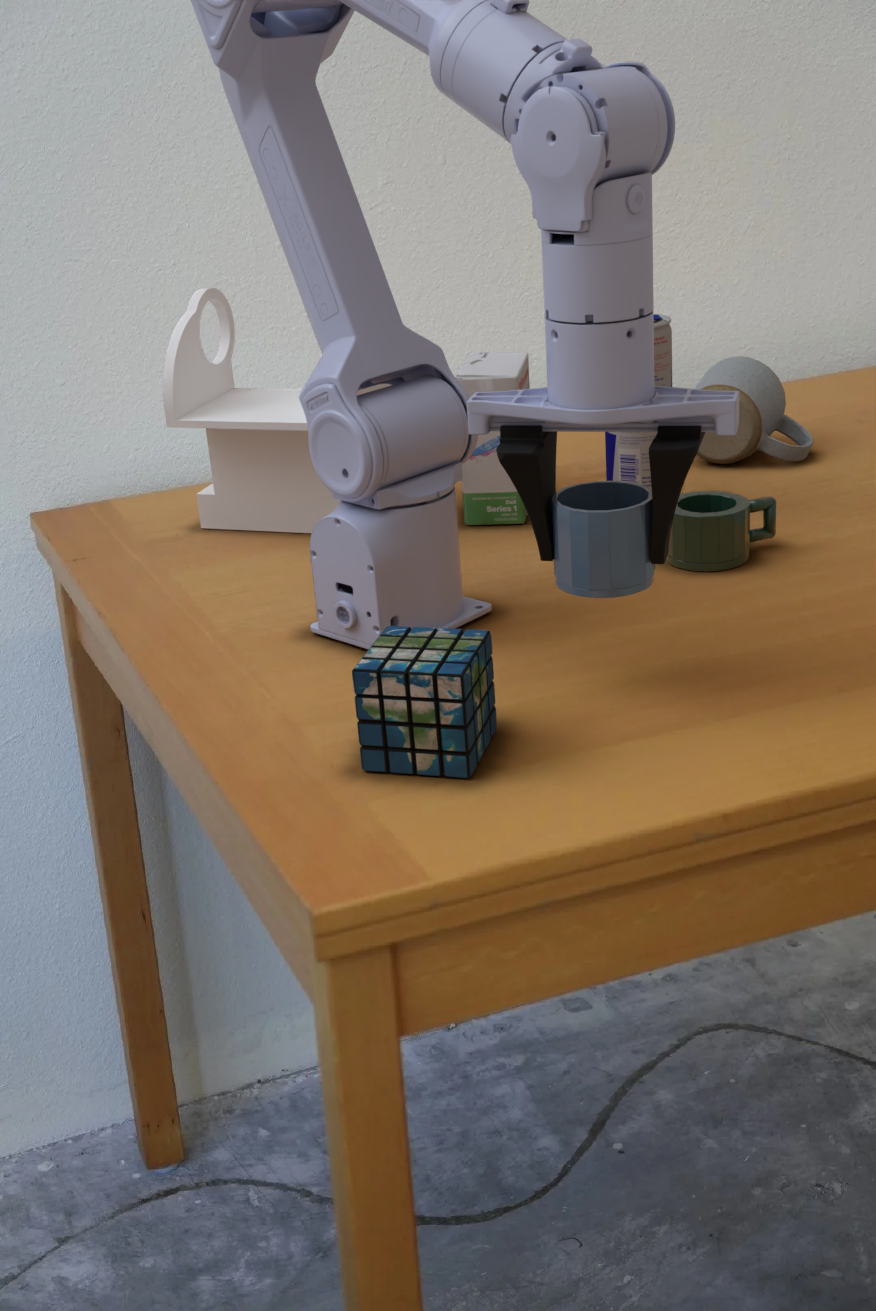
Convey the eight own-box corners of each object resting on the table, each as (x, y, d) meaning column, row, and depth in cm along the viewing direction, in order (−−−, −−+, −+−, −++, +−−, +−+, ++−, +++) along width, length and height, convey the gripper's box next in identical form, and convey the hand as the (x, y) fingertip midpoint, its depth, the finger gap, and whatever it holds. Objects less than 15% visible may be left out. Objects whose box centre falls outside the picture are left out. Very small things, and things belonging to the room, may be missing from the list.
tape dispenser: (183, 539, 116) (149, 309, 109) (254, 489, 127) (227, 277, 120) (349, 547, 112) (325, 307, 105) (407, 495, 123) (389, 275, 116)
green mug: (687, 577, 101) (687, 521, 99) (651, 551, 106) (650, 498, 105) (795, 557, 103) (796, 502, 101) (755, 533, 108) (755, 480, 107)
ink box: (526, 525, 114) (518, 373, 109) (462, 526, 114) (452, 375, 110) (536, 491, 121) (529, 348, 116) (476, 492, 122) (467, 350, 117)
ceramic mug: (675, 466, 125) (676, 376, 122) (698, 439, 131) (700, 353, 128) (802, 474, 121) (806, 381, 118) (819, 446, 127) (824, 358, 124)
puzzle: (470, 780, 77) (463, 675, 74) (361, 772, 78) (350, 669, 76) (497, 728, 82) (491, 628, 79) (395, 722, 84) (385, 624, 81)
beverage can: (672, 499, 117) (670, 308, 111) (675, 520, 112) (673, 322, 106) (607, 502, 117) (601, 312, 111) (607, 522, 113) (601, 325, 107)
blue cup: (627, 604, 80) (625, 516, 78) (537, 590, 83) (533, 505, 81) (671, 570, 84) (670, 486, 82) (584, 557, 87) (581, 476, 85)
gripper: (745, 296, 79) (742, 535, 85) (483, 301, 83) (496, 530, 89) (733, 323, 73) (731, 579, 78) (450, 327, 77) (467, 572, 82)
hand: (605, 556), depth 83 cm, fingers closed on blue cup, 5 cm apart
